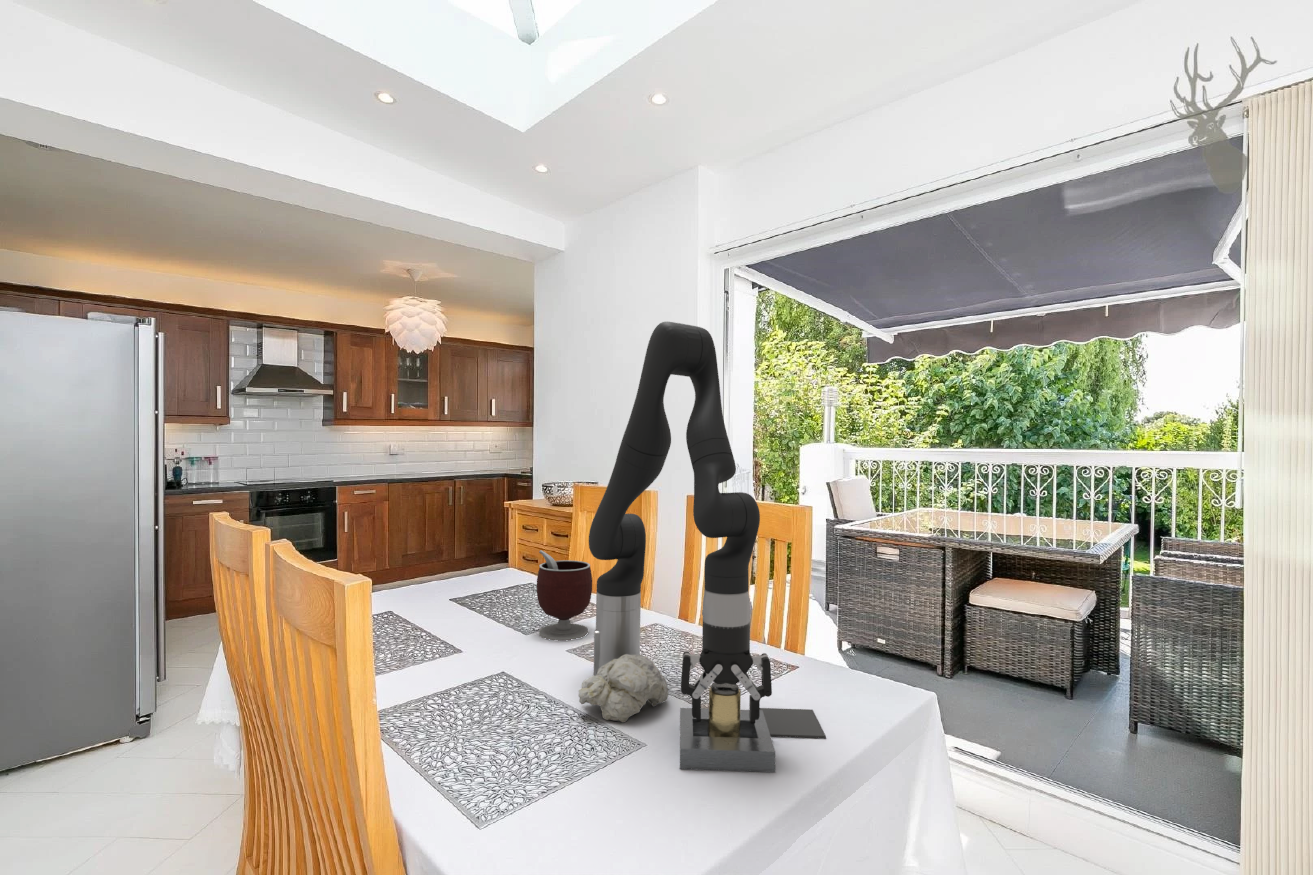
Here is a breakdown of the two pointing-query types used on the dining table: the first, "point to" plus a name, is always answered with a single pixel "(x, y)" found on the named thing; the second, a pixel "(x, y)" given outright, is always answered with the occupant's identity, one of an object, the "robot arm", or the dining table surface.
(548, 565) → the mate gourd
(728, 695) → the tan cylinder
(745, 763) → the block
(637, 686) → the mineral
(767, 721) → the mat
